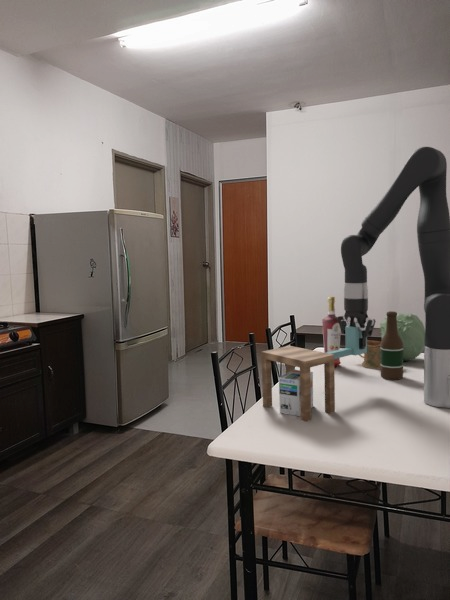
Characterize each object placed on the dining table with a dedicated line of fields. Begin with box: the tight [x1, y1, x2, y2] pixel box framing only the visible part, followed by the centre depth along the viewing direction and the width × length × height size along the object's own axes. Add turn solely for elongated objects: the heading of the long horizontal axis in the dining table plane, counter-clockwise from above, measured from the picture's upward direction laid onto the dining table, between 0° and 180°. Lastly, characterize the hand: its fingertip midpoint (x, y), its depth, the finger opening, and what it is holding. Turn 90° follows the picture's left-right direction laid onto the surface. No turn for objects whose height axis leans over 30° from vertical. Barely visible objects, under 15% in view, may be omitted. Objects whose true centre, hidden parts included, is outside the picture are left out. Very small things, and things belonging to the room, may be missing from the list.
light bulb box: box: [278, 369, 314, 417], centre depth 139 cm, size 11×7×11 cm, turn 148°
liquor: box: [321, 296, 342, 368], centre depth 188 cm, size 7×7×28 cm
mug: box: [358, 339, 381, 370], centre depth 189 cm, size 12×18×12 cm, turn 54°
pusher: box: [327, 326, 368, 359], centre depth 150 cm, size 21×4×9 cm, turn 127°
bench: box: [261, 345, 336, 422], centre depth 139 cm, size 18×12×17 cm, turn 37°
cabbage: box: [379, 312, 425, 362], centre depth 194 cm, size 16×19×20 cm
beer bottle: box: [379, 311, 404, 381], centre depth 169 cm, size 8×8×24 cm
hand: (356, 347), depth 155 cm, fingers closed on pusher, 4 cm apart
